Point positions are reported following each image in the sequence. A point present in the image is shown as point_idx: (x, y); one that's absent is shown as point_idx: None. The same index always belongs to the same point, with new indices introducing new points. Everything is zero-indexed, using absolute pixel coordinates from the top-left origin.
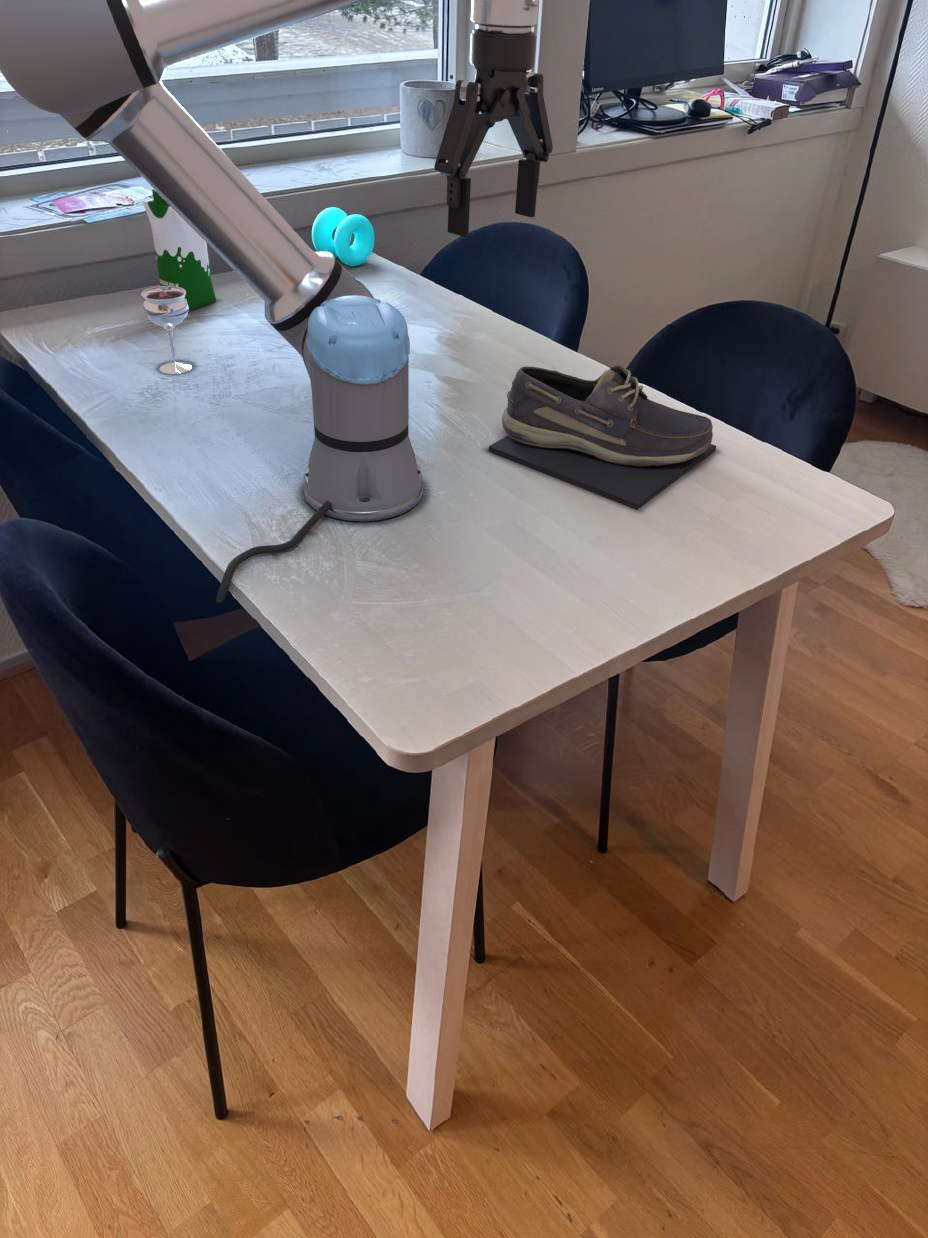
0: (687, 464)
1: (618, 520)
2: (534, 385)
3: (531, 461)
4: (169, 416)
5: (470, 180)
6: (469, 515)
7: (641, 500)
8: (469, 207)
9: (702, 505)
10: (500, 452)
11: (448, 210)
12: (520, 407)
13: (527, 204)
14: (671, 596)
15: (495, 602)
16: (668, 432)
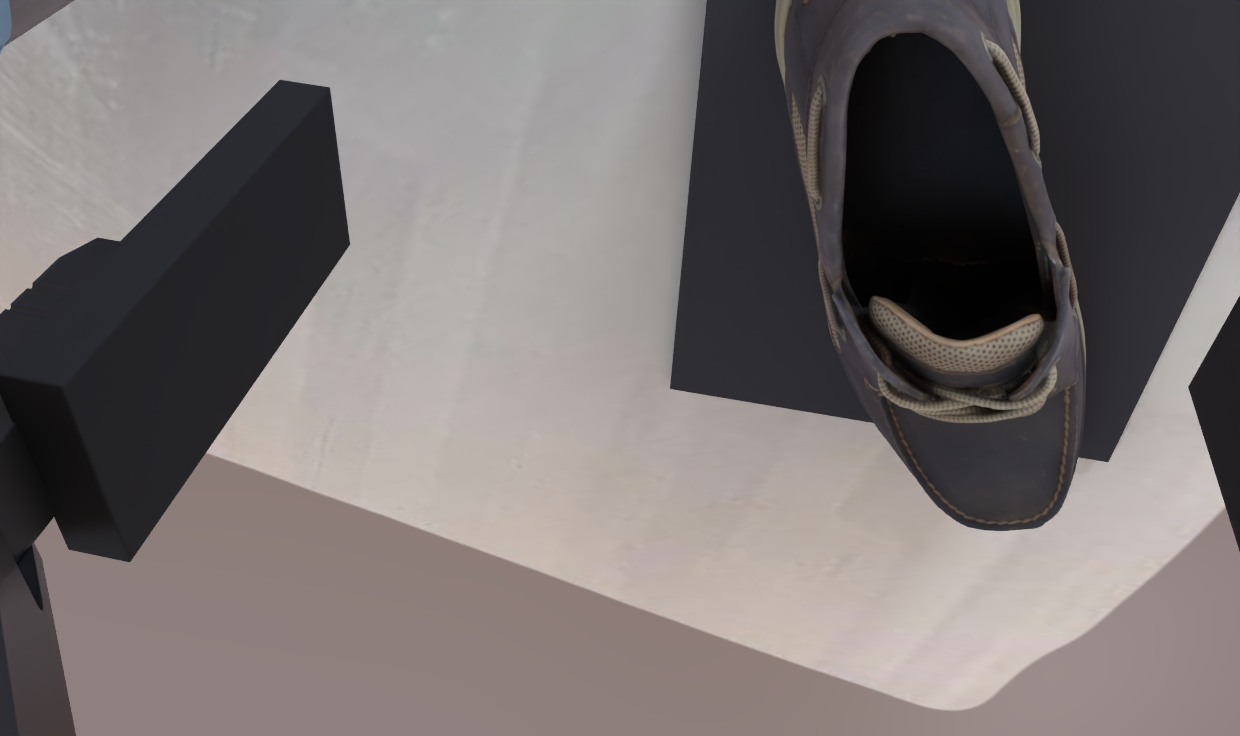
0: None
1: (601, 360)
2: (824, 113)
3: (705, 88)
4: None
5: (136, 545)
6: (360, 70)
7: (691, 390)
8: (255, 377)
9: (784, 477)
10: None
11: (191, 172)
12: (792, 40)
13: (1234, 415)
14: (435, 495)
15: None
16: (918, 448)
